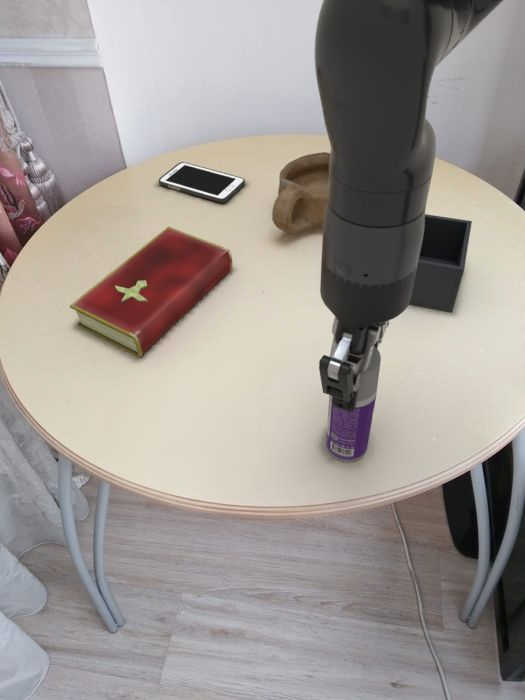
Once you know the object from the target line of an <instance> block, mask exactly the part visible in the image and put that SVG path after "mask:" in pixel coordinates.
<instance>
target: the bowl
mask: <svg viewBox="0 0 525 700" xmlns="http://www.w3.org/2000/svg"><path fill="white" fill-rule="evenodd" d="M329 161H330V152H327V151H323V152H316V153H311V154H306V155H302V156H300V157H298V158H296V159H293V160H291V161H289V162H287V164H285V166H283V168H282V169H281V170H280V172H279V182H278V183H279V184H278V191H277V198H276V199H275V201H274V202H273V203H274V204H273V207H272V212H271V215H272V216H271V217H272V222H273V224H274V225H275V227H276V228H278V229H279V230H281V232H284V233H288V234H298V233H301V232H302V231H307V230H310V229H312V228H314V229H315V228H319V227H323V222H324V216H325V212H326V207H327V200H328V180H329Z"/></svg>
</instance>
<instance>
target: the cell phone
mask: <svg viewBox="0 0 525 700" xmlns="http://www.w3.org/2000/svg"><path fill="white" fill-rule="evenodd" d="M158 184H159V185H160V186H163V187H166V188H170V189H174V190H177V191H180V192H182V193H186V194H189V195H192V196H196V197H200V198H203V199H206V200H210V201H213V202H215V203H216V202H217V203H221V204H224V203H226V202H228V201H229V200H230V198H232V197H233V196H234V194H235V193H237V192H239V191H240V190H241V189H242V188H243V187H245V184H246V179H245V178H243V177H241V176H237V175H234V174H230V173H227V172H223V171H218V170H216V169H212V168H207V167H204V166H200V165H197V164H194V163H190V162H185V161H181V162H178V163H177V164H176V165H174V166H173V167H172V168H171V169H169V170H168V171H166V172H165V173H164V174H163V175H161V177H160V178H158Z"/></svg>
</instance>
